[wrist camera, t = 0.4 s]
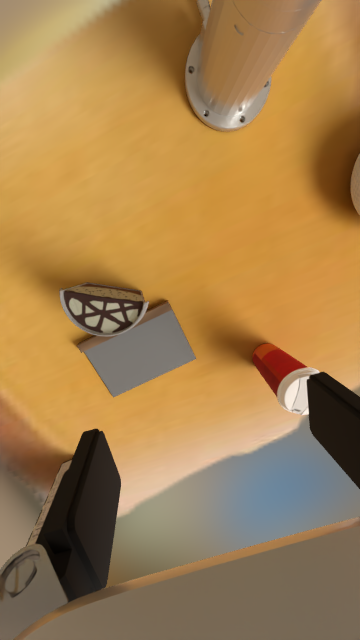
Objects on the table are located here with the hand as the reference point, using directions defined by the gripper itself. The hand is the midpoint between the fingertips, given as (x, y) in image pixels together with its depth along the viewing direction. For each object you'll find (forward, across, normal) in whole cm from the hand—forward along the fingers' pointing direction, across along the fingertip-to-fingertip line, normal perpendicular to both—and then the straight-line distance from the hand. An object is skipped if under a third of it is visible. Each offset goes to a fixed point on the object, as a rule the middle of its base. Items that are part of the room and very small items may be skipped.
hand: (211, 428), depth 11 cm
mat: (+35, +8, +10) cm, 37 cm away
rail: (+35, +9, +4) cm, 36 cm away
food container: (+35, +10, -1) cm, 36 cm away
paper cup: (+35, -16, +17) cm, 42 cm away
